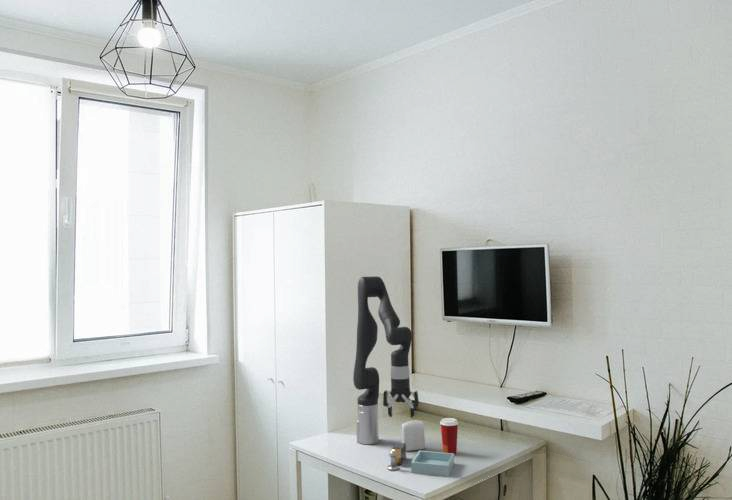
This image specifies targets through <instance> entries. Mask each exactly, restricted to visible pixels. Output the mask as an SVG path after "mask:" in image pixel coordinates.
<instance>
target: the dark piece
mask: <svg viewBox="0 0 732 500" xmlns="http://www.w3.org/2000/svg"><path fill="white" fill-rule="evenodd" d="M391 451H395V452H396V457H395V465H398V466H399V467H400V466H402V464H403V462H405V460H406V458H407V451H406V443H402V442H396V443H395V444H394V445H393V446H392V447H391V449H390V452H391Z"/></svg>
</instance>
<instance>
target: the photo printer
mask: <svg viewBox="0 0 732 500" xmlns="http://www.w3.org/2000/svg"><path fill="white" fill-rule="evenodd" d="M400 426H401V443H406V452H410V451H419V450H423V449H425V448H426V447H425V445H426V444H425V441H426V440H425V424H424V422H423V421H421V420H417V419H415V420H407V421H405V422H403V423H402V424H401V425H400Z"/></svg>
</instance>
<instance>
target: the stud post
mask: <svg viewBox="0 0 732 500" xmlns="http://www.w3.org/2000/svg"><path fill="white" fill-rule="evenodd" d="M388 456H389V457H390V464H389V465H387V468H386V469H387V471H391V472H395V471H399V467H400V465H399V466H398V465H395V457H396V452H395V451H391V450H390V451H389V452H388Z"/></svg>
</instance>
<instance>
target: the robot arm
mask: <svg viewBox="0 0 732 500" xmlns="http://www.w3.org/2000/svg"><path fill="white" fill-rule="evenodd" d="M369 298H378V299H379V301H380V302H379V306H378V309H377V310H378V311H377V312H378V313H377V314H378V317H379V319H380V322H381V323H382V325H383V327H384V328H383V329H384V331H385V339H386V342H387V343H388V344H389V345H391V346H399V345H400V346H399V348H398V349H396V350H394V351H392V352H391V353H390V366H391V367H390V384H391V385H390V388H391V390H387V389H386V390H384V391H383V396H382V397H383V403H382V406H383V407H386V408H387V415H388V417H390V418H392V417H393V404H394V403H395V402H396V403H406V404H407V405H408V406H409V407H410V409H409V411H410V418H414V416H415V414H416V413H415V411H416V410H415V409H416V408H417V407H419V404H420V399H419V392H418V390H415V391H411V387H410V385H411V381H410V380H411V379H410V378H411V377H410V367H409V364H410V363H409V353H410V349H411V345H412V339H413V332H412V331H411V329H410V328H409V327H408V326H400V325H401V321H400V318H399V316H398V314H397V312H396V311H395V309H394V307H393V306H392V302H391V300H390V296H389V293H388V290H387V286H386V285H385V282H384V280H383V279H382V278H381V277H380V276H361V277H360V278H359V279H358V282H357V306H358V307H357V327H356V351H355V358H354V359H355V361H354V369H353V377H352V378H353V381H352V382H353V385H354V387H355V388H356V389H357V390H360V391H362V390H365V391H364V392H363V393H362V394H360V395H359V396H357V420H356V422H355V423H356V443H358V444H363V445H375V444H377V443H379V438H380V437H379V397H380V374H379V372H378V369H377V368H376V367H374V366H373V367H372V366H371V367H369V366H368V367H366V365H367V361H368V358H369V356H370V354H371V352H372V351H373V350H374V348H375V346H376V343H377V340H378V332H379V331H378V330H379V329H378V328H379V327H378V324H377V321H376V319H375V317H374V316H373V315H372V312H371V311H370V308H369V301H368V300H369ZM356 389H355V390H356ZM389 396H391V397H392V399H391V400H390V401H389V402H388V397H389ZM411 396H412V397H413V398H414V402H413V401H412V400H411V398H410V397H411Z"/></svg>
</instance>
